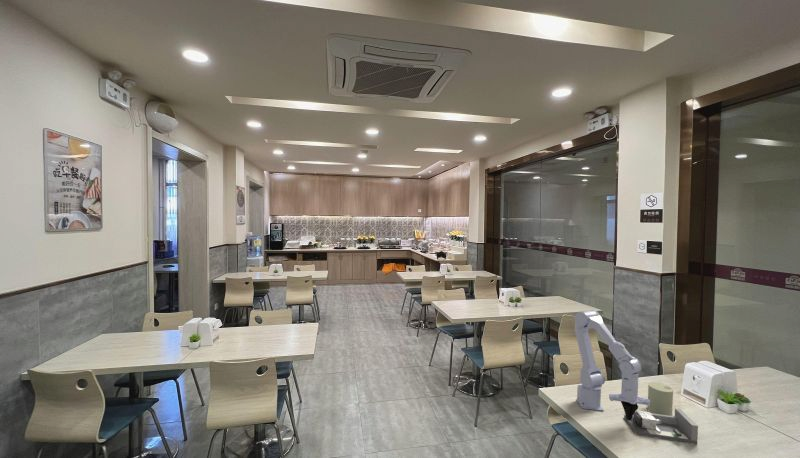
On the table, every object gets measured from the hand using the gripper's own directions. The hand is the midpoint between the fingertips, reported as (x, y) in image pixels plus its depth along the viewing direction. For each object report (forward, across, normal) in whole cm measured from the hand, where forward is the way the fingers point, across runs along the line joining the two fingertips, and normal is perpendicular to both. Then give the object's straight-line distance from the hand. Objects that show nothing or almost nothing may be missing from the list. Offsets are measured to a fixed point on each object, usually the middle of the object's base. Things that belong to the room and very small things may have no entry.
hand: (628, 418), depth 142 cm
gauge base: (+3, +12, 0) cm, 12 cm away
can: (+3, +19, +16) cm, 25 cm away
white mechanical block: (+1, +7, -2) cm, 8 cm away
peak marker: (+1, +15, -5) cm, 16 cm away
